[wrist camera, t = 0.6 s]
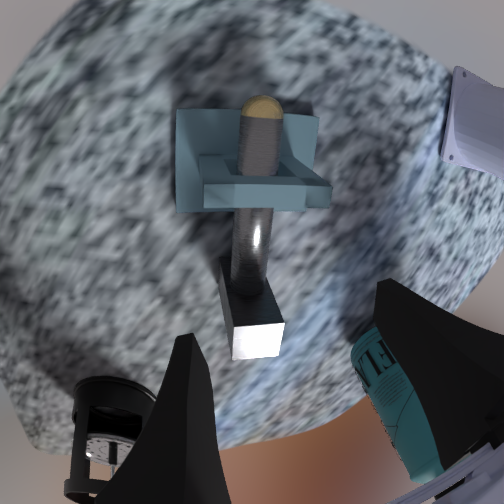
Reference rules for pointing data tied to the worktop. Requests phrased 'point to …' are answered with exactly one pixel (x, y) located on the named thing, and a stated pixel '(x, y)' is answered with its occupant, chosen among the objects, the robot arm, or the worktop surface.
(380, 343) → the beverage bottle
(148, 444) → the robot arm
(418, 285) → the worktop surface
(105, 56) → the worktop surface
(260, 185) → the eye bracket
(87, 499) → the french press
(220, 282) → the hook rod
